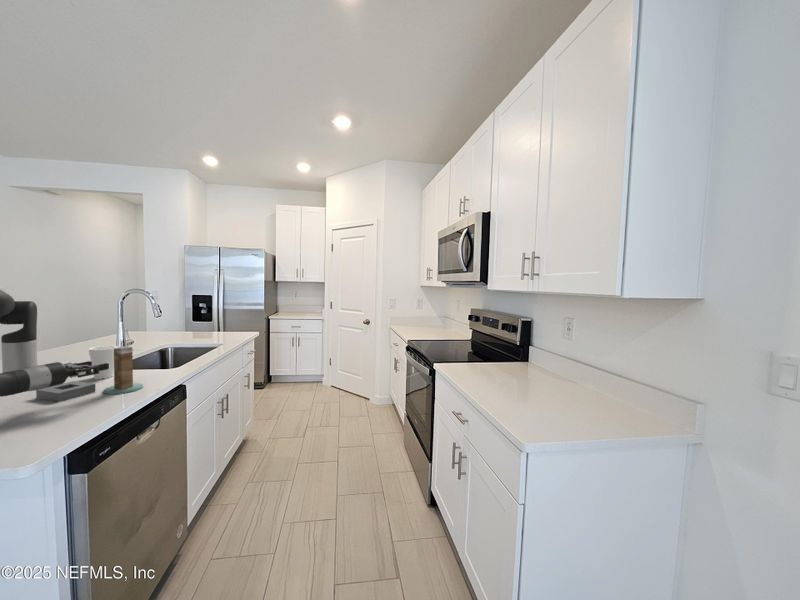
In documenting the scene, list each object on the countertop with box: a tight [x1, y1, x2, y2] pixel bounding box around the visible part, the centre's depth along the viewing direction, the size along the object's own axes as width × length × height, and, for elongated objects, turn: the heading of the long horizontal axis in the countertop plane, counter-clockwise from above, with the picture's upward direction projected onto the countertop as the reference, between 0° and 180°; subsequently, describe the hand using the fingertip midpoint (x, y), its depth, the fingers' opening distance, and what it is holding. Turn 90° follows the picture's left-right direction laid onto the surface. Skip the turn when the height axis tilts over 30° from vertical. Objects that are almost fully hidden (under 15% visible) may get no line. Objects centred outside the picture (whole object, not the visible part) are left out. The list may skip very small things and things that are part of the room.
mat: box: [102, 382, 144, 395], centre depth 128 cm, size 12×12×1 cm
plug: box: [113, 345, 134, 390], centre depth 128 cm, size 4×4×16 cm
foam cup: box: [88, 345, 119, 380], centre depth 143 cm, size 10×9×13 cm
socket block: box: [35, 380, 96, 403], centre depth 121 cm, size 11×11×3 cm
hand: (99, 364), depth 120 cm, fingers open, 8 cm apart
